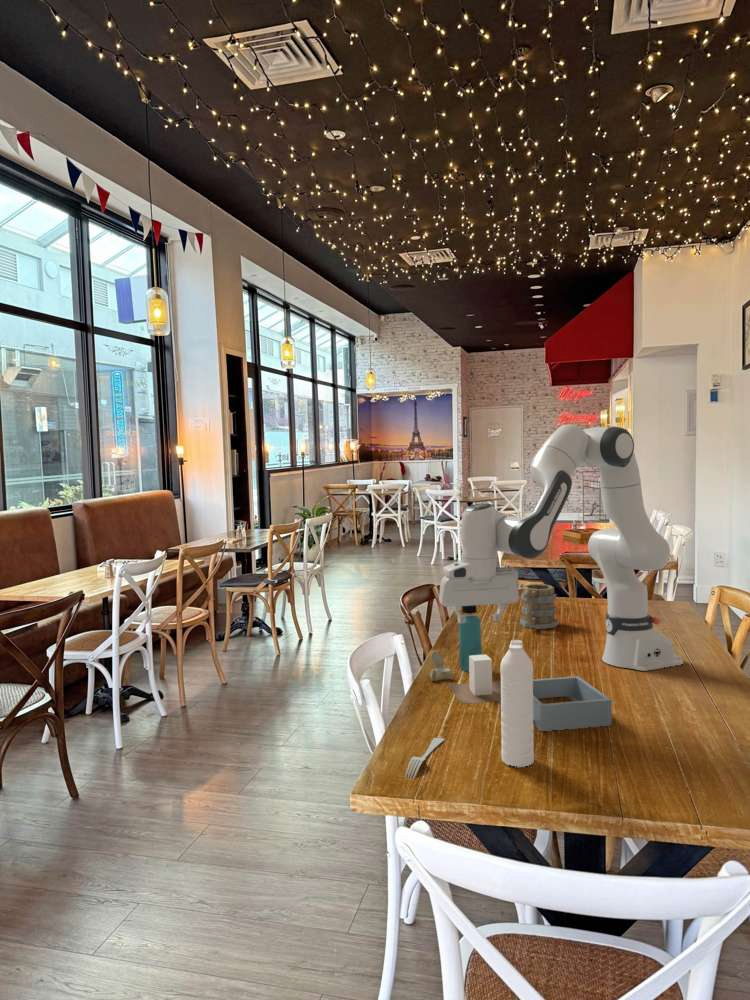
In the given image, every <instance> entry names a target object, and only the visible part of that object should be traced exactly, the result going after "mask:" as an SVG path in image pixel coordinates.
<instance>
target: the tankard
mask: <svg viewBox="0 0 750 1000" xmlns="http://www.w3.org/2000/svg"><path fill="white" fill-rule="evenodd" d="M522 587H523V588H522V590H523V591H522V593H521V596H520V597H521V600H522V601H523V603H522V604H523V605H522V606H521V613H522V614H523V617H521V619H519V624H520V625H521V626H522V625H523V626H522V627H524V628H525V627H529V628H528V629H532V628H535V629H534V630H548V629H547V628H553V629H554V628H556V627H558V626H559V620H558V619H555V615H556V614H557V606H555V601H557V594H556V593H555V587H554V586H552V585H550V584H543V583H534V584H533V583H532V584H529V583H528V584H525V585H524V586H522ZM557 625H558V626H557Z"/></svg>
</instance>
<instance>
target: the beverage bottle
mask: <svg viewBox="0 0 750 1000" xmlns="http://www.w3.org/2000/svg"><path fill="white" fill-rule="evenodd" d="M461 608H462V609H461V613H462V614H463V615H464V614H465V615H464V616H465V623H458V645H459V646H458V650H459V652H458V655H459V658H458V659H459V660H458V661H459V668H460V670H462V671H463V672H468V673H469V656H470V655H483V653H482V649H483V646H482V631H481V629H482V627H481V625H482V624H481V621H482V620H481V619H480V617H478V616H477V615H475V613H477V605H469V606H461Z"/></svg>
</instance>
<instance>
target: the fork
mask: <svg viewBox="0 0 750 1000" xmlns="http://www.w3.org/2000/svg"><path fill="white" fill-rule="evenodd" d="M443 738H444V737H438V738H436V737H434V738H433V739H432V740H431V742H430V744H429V747H428V748H427V750H426V752H425V753H423V755H422V756H421V757H420V756H412V757H411V758H410V760H409V762H408V766H407V768H406V771H405V774H404V778H407V779H412V780H414V779H415V778H416V776H417V773H418V771H419V769H420V767H421V766H422V764H423V763H424V761H425V760H427V757H428V756H430V754H431V753H432V752H433V751H434V750H435V749H436V748H437V747H438V746H440V745H441V743H443V742H444V741H445V740H446V738H444V739H443Z"/></svg>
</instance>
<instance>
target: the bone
mask: <svg viewBox="0 0 750 1000" xmlns="http://www.w3.org/2000/svg"><path fill="white" fill-rule="evenodd" d="M429 658H430V660H431V662H432V663H434V667H435V668H431V670H430V672H429V678H430V680H431V681H432V682H437V681H440V680H455V679H454V673H453V672H452V670H451V669H450V668H449V667H444V663H445V661H444V658H443V656H442V655H441V654H440V653H438V652H437V651H435V650H432V652H431V654H430V657H429Z"/></svg>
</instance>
